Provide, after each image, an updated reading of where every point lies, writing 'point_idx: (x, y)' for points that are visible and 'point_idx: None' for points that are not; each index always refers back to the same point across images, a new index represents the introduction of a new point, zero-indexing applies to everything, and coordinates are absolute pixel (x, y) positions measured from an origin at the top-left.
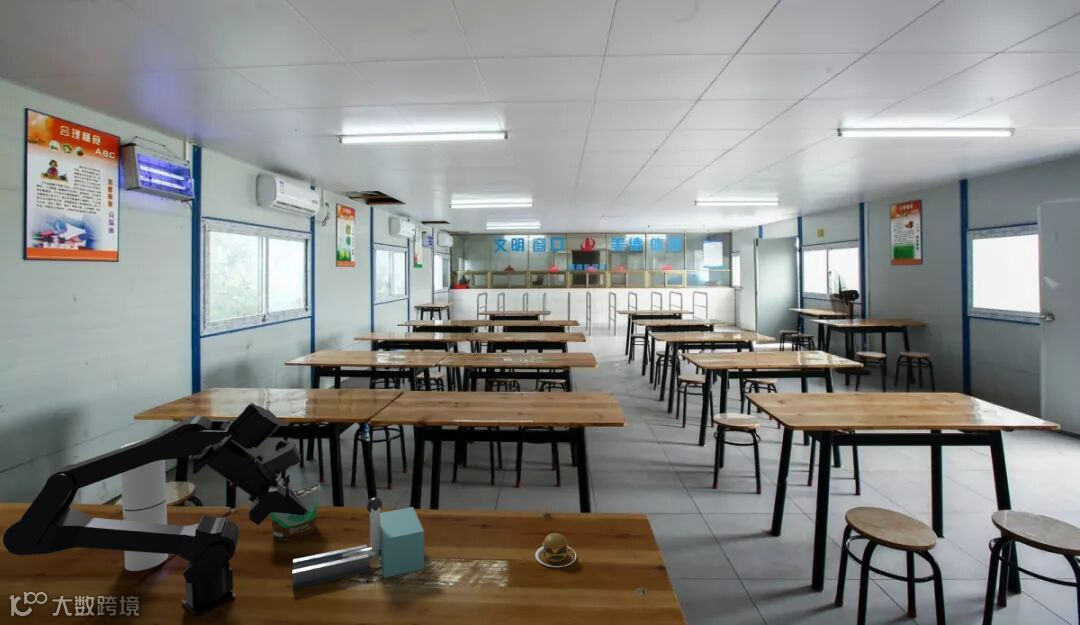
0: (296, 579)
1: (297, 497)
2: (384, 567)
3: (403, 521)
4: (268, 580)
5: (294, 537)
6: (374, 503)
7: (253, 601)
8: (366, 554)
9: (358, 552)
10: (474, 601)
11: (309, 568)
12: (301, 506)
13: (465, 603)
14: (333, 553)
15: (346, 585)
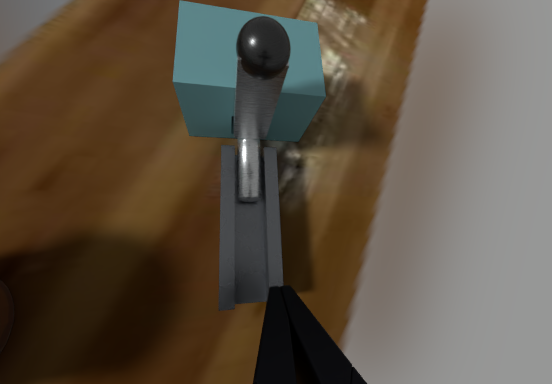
0: None
1: (267, 369)
2: (304, 131)
3: None
4: (219, 360)
5: (8, 326)
6: (288, 41)
7: None
8: (264, 150)
9: (255, 163)
10: (386, 57)
11: (276, 266)
12: (316, 319)
13: (387, 67)
14: (231, 214)
15: (298, 200)
